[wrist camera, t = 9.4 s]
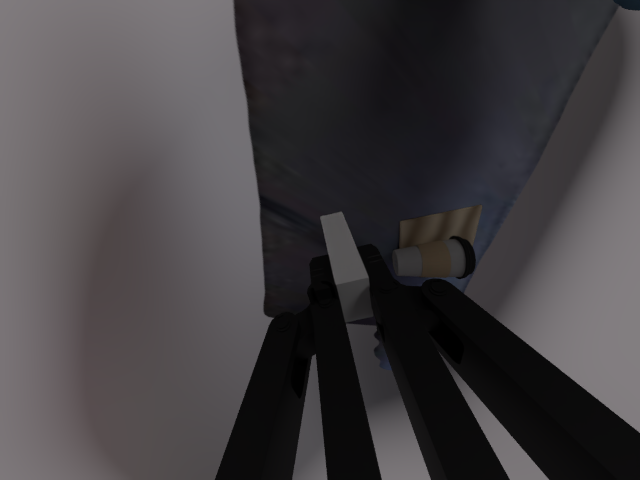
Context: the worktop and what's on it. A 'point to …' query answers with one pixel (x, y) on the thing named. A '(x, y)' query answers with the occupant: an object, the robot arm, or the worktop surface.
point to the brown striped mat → (440, 227)
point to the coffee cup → (436, 259)
